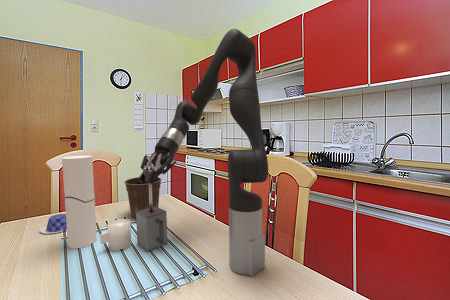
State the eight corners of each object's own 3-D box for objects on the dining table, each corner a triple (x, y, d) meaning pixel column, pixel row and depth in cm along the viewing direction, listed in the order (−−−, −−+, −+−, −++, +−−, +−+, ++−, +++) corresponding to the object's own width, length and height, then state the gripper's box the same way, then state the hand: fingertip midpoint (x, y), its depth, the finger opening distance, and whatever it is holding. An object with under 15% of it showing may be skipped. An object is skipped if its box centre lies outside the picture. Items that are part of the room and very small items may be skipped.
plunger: (162, 216, 78) (160, 169, 76) (148, 220, 74) (146, 171, 73) (154, 212, 81) (152, 167, 80) (140, 216, 78) (138, 169, 76)
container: (83, 249, 75) (77, 158, 72) (61, 247, 77) (55, 158, 74) (102, 237, 83) (97, 155, 81) (82, 235, 85) (77, 155, 83)
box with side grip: (172, 246, 77) (171, 213, 76) (152, 255, 71) (151, 219, 70) (156, 237, 84) (155, 206, 83) (137, 244, 78) (136, 211, 77)
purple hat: (53, 237, 85) (52, 223, 84) (32, 232, 89) (31, 219, 88) (83, 224, 96) (82, 212, 96) (63, 221, 100) (62, 209, 100)
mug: (135, 245, 78) (134, 222, 77) (105, 256, 71) (104, 231, 70) (126, 239, 82) (125, 217, 82) (98, 248, 76) (96, 225, 75)
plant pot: (156, 220, 99) (155, 183, 98) (119, 221, 99) (117, 184, 98) (166, 208, 115) (165, 176, 114) (134, 208, 115) (133, 176, 114)
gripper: (190, 150, 84) (167, 190, 74) (161, 149, 90) (137, 186, 81) (180, 136, 78) (154, 177, 69) (150, 135, 85) (123, 173, 76)
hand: (145, 181), depth 75 cm, fingers closed on plunger, 3 cm apart
